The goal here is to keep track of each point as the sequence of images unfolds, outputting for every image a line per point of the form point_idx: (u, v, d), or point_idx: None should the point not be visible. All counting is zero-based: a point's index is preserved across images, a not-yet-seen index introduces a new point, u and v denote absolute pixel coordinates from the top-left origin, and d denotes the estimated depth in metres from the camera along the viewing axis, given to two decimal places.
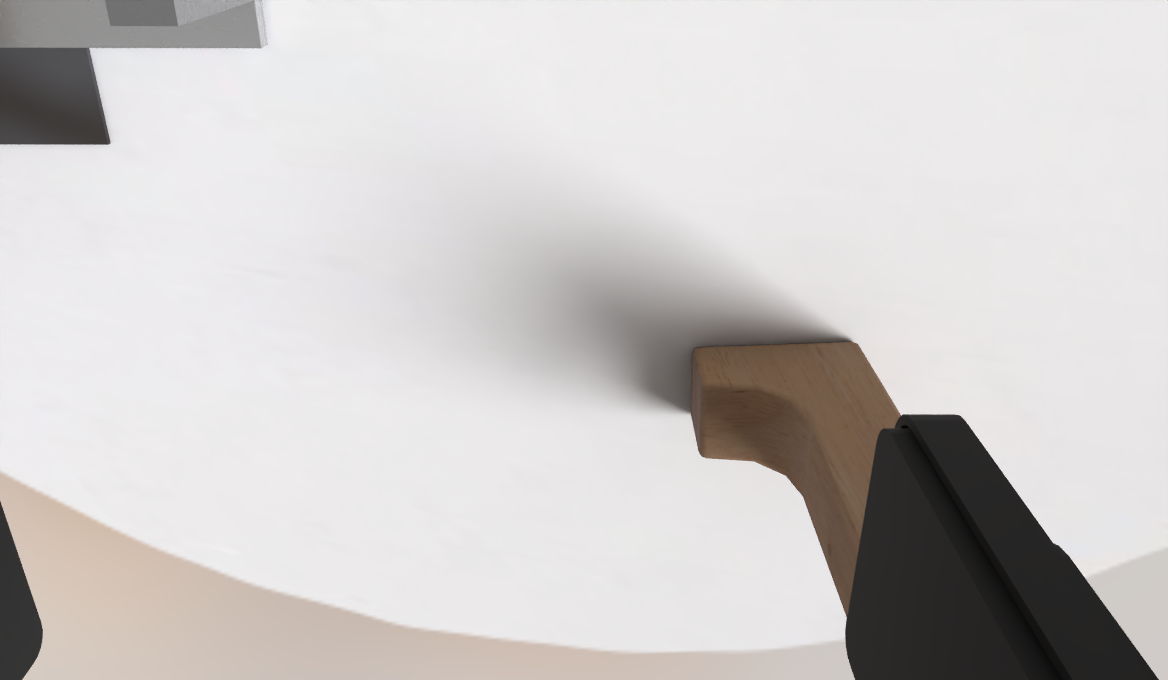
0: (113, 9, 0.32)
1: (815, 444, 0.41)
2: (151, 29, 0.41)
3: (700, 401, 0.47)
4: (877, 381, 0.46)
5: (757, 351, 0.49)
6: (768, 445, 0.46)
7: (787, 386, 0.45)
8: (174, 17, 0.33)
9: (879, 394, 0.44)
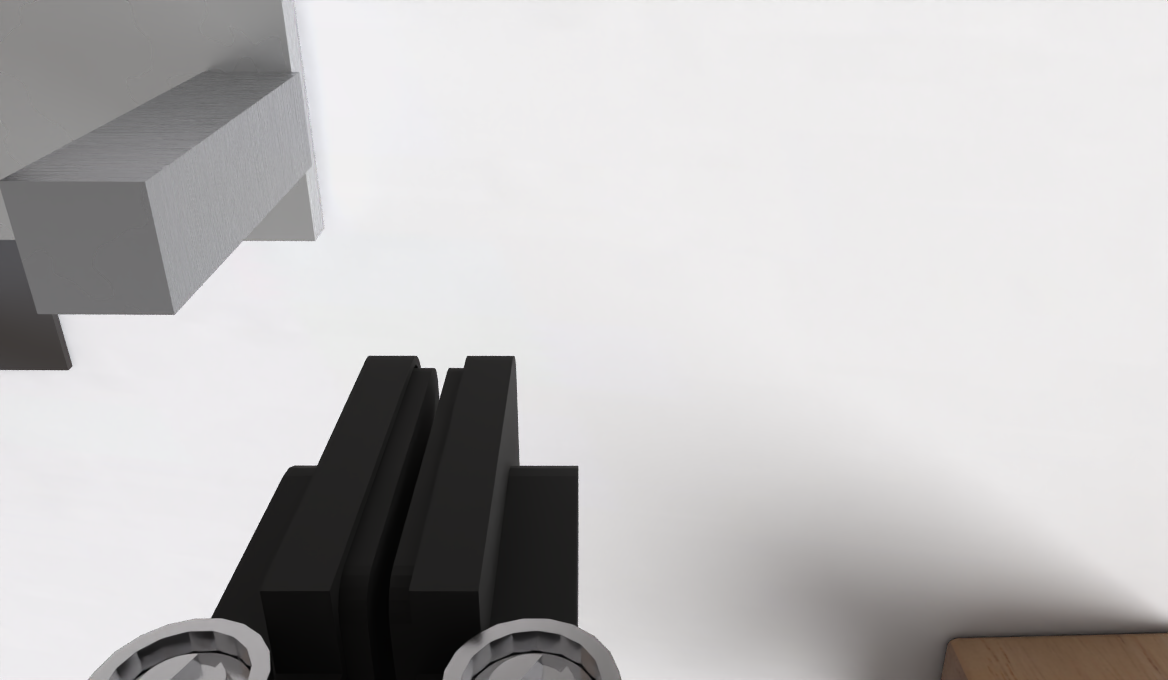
0: (42, 285, 0.16)
1: None
2: None
3: None
4: None
5: (1053, 654, 0.32)
6: None
7: None
8: (167, 299, 0.16)
9: None
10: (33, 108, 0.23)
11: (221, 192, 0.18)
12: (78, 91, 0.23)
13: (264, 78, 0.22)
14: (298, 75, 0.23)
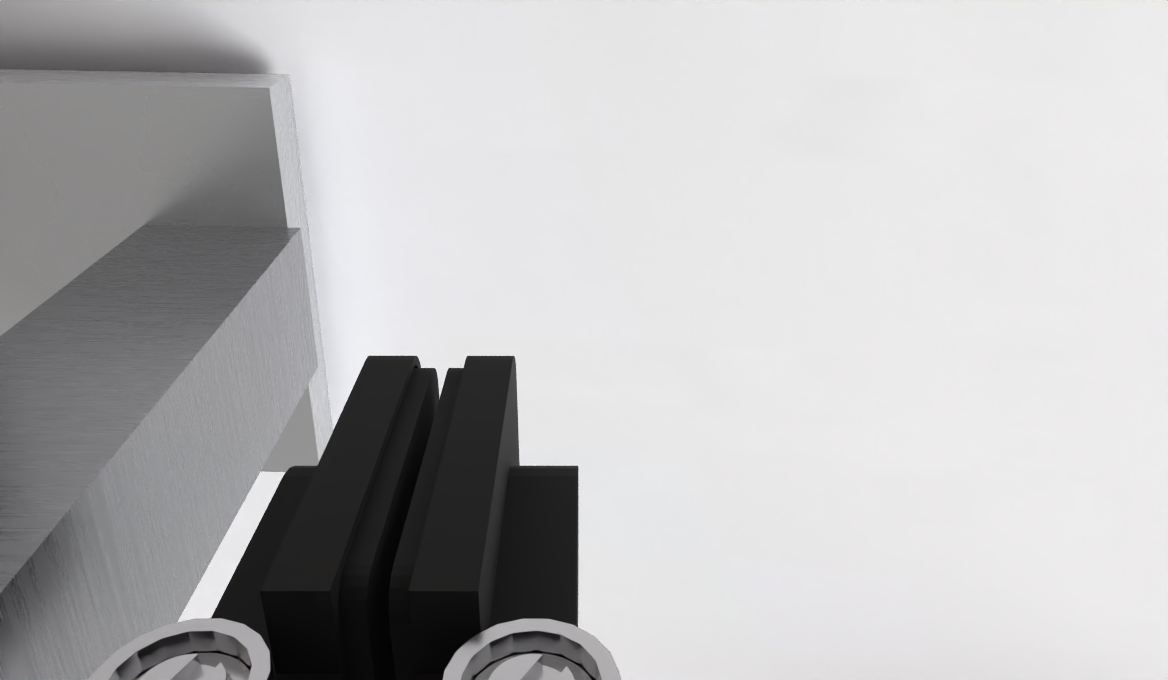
0: None
1: None
2: None
3: None
4: None
5: None
6: None
7: None
8: None
9: None
10: None
11: (144, 543, 0.09)
12: None
13: (242, 245, 0.13)
14: (299, 234, 0.14)
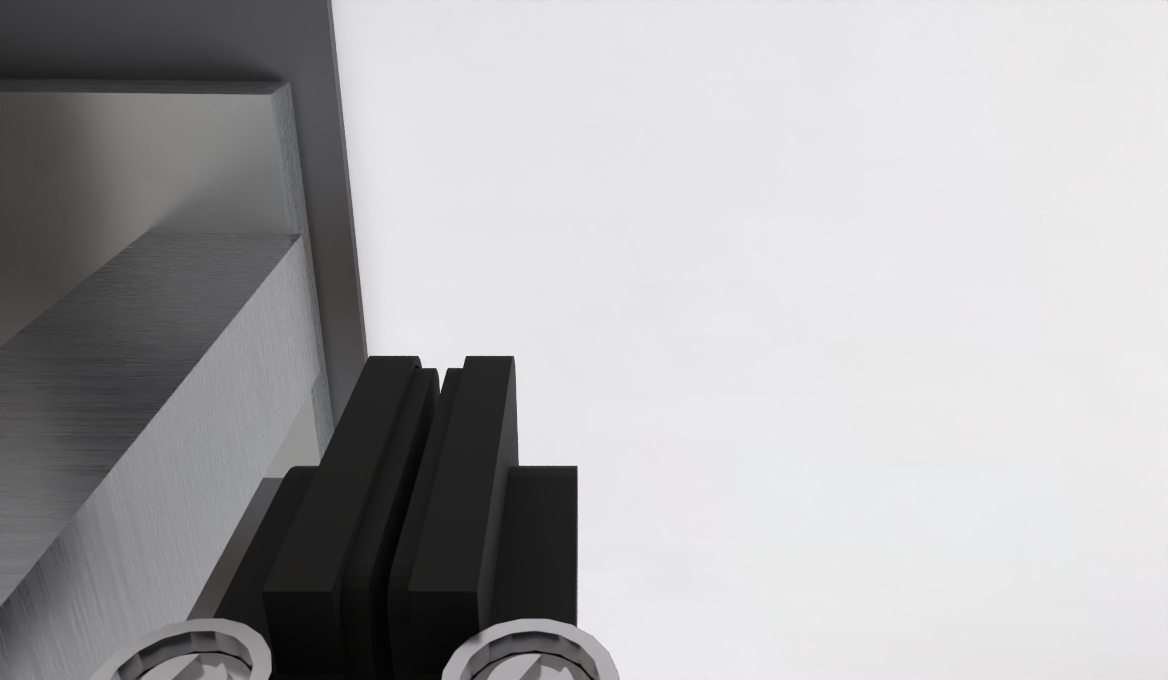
0: None
1: None
2: None
3: None
4: None
5: None
6: None
7: None
8: None
9: None
10: None
11: (150, 548, 0.09)
12: None
13: (244, 252, 0.13)
14: (300, 240, 0.14)
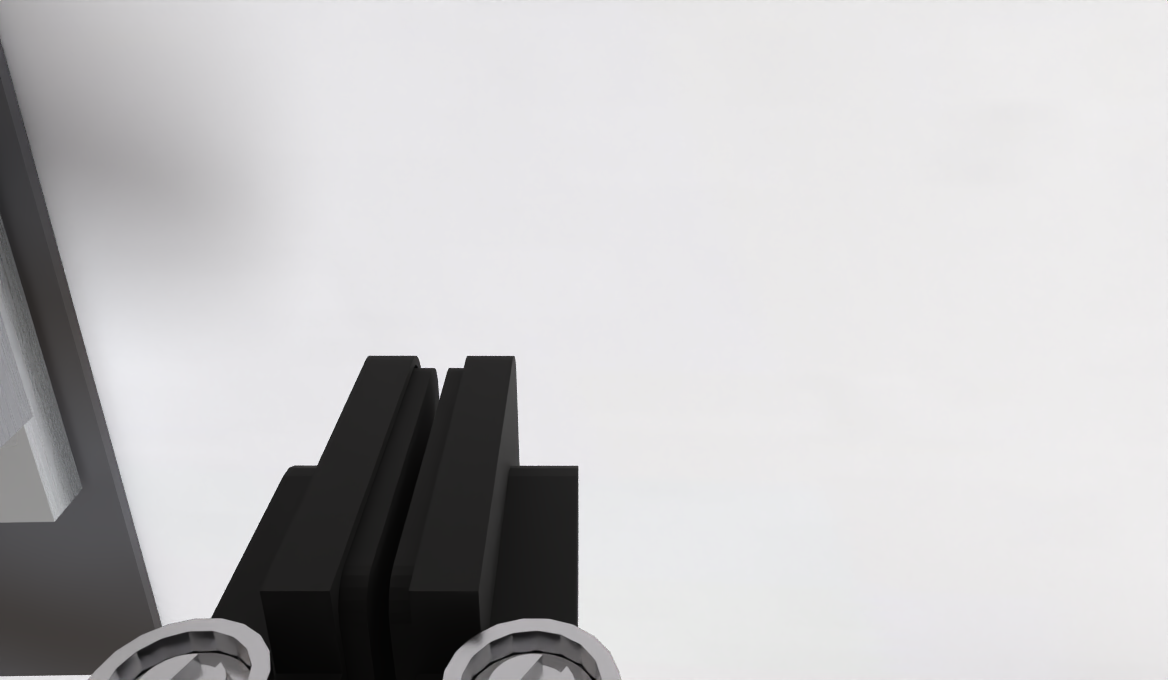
0: None
1: None
2: None
3: None
4: None
5: None
6: None
7: None
8: None
9: None
10: None
11: None
12: None
13: None
14: None
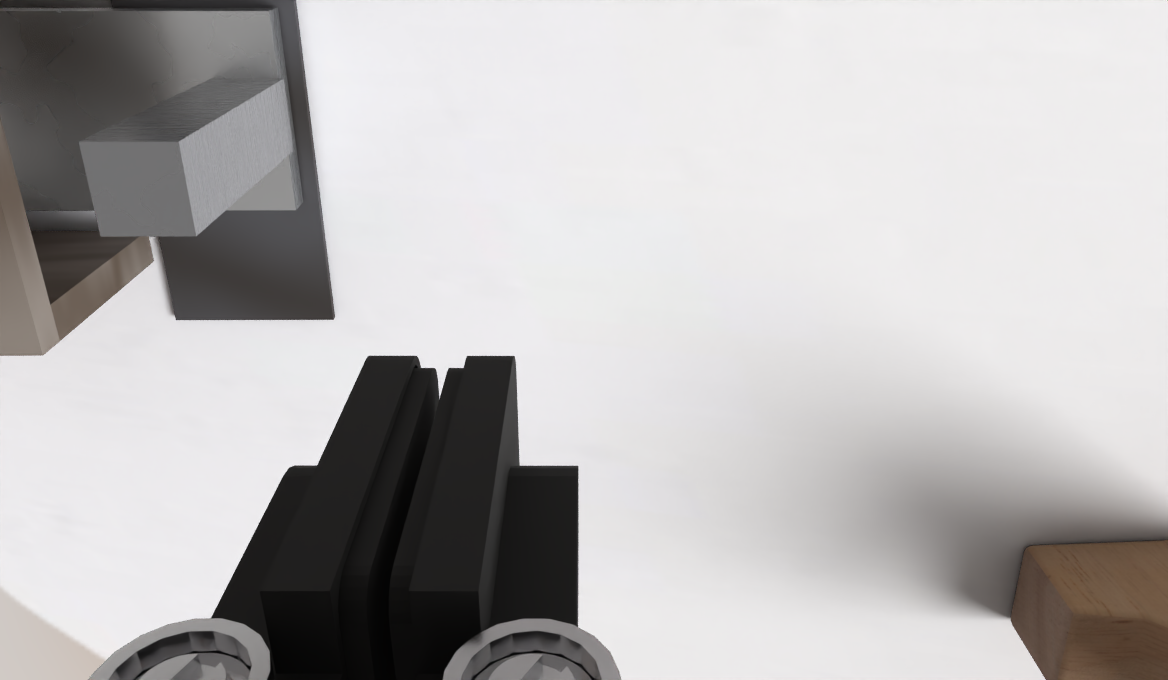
0: (104, 216, 0.23)
1: None
2: None
3: (1064, 629, 0.37)
4: None
5: (1112, 555, 0.40)
6: None
7: None
8: (192, 225, 0.23)
9: None
10: (79, 106, 0.31)
11: (227, 158, 0.25)
12: (114, 94, 0.31)
13: (257, 82, 0.30)
14: (283, 81, 0.30)
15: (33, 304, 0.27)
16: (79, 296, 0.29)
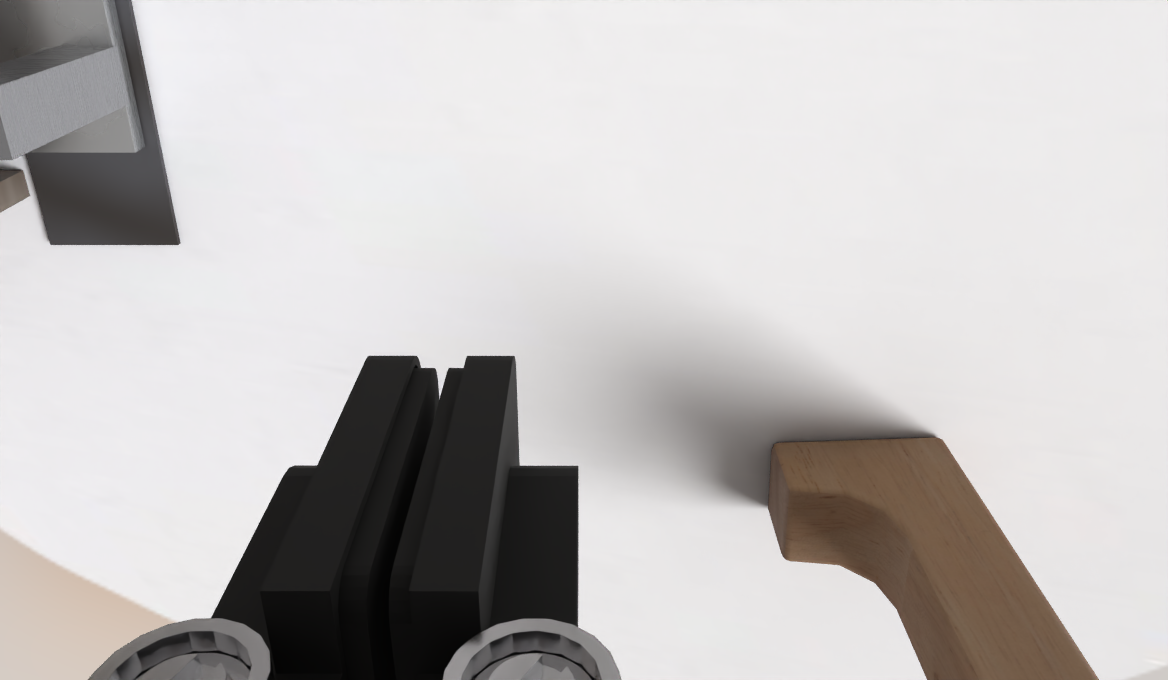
0: None
1: (915, 563, 0.40)
2: None
3: (785, 505, 0.45)
4: (970, 486, 0.44)
5: (840, 449, 0.47)
6: (857, 551, 0.45)
7: (878, 492, 0.44)
8: (8, 151, 0.31)
9: (975, 503, 0.43)
10: None
11: (47, 104, 0.33)
12: None
13: (93, 48, 0.38)
14: (116, 47, 0.38)
15: None
16: None
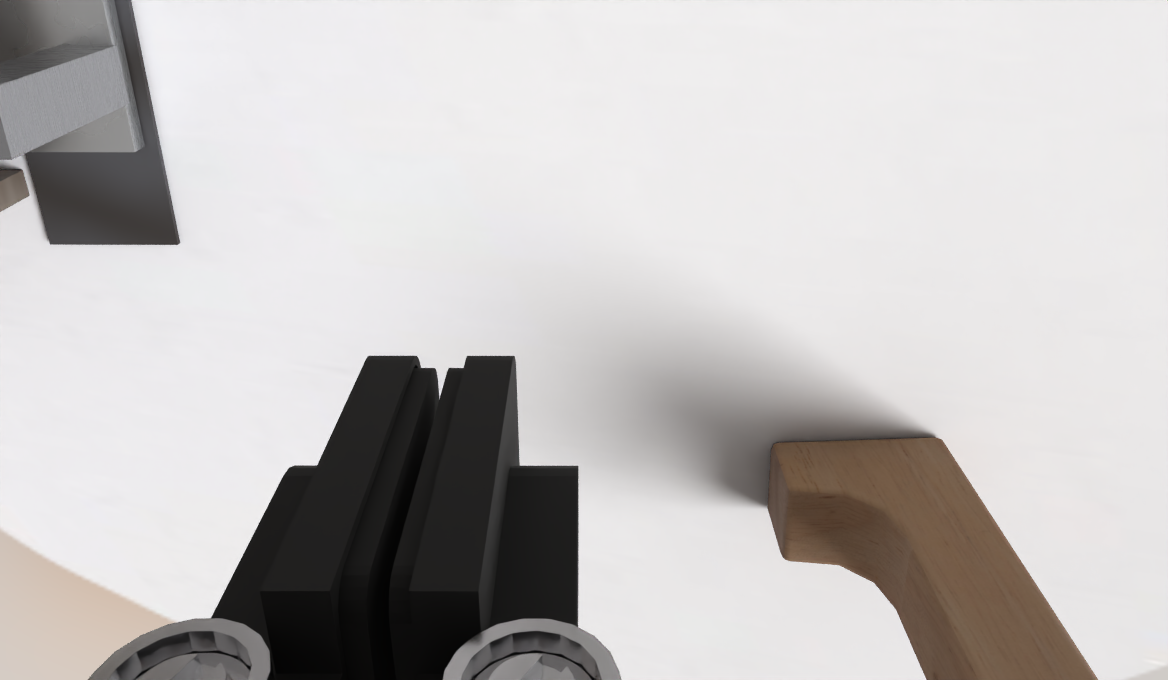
0: None
1: (915, 563, 0.40)
2: None
3: (785, 505, 0.45)
4: (970, 486, 0.44)
5: (840, 449, 0.47)
6: (856, 552, 0.45)
7: (877, 492, 0.44)
8: (8, 151, 0.31)
9: (974, 503, 0.43)
10: None
11: (47, 104, 0.33)
12: None
13: (92, 48, 0.38)
14: (115, 47, 0.38)
15: None
16: None
